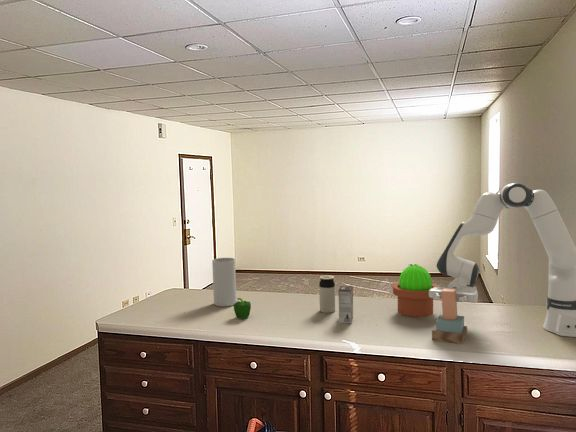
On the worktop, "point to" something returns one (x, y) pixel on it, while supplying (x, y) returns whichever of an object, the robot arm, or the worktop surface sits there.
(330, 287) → the travel mug
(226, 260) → the cylinder vase
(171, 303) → the worktop surface
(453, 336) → the walnut base block
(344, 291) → the coffee box
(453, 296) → the terracotta tall block
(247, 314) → the bell pepper
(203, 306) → the worktop surface
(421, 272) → the potted cactus
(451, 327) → the grey-teal top block
